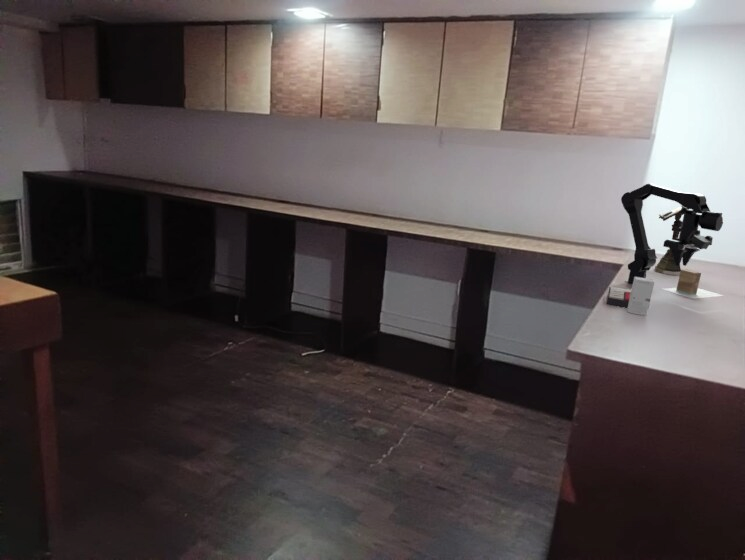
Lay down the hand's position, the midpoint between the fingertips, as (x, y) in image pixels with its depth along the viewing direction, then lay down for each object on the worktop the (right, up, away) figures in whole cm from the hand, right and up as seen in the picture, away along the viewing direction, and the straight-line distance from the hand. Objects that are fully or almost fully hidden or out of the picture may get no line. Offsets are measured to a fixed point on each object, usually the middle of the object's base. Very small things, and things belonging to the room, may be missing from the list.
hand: (680, 265), depth 223 cm
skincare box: (-30, -17, -26) cm, 43 cm away
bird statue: (+16, -2, +46) cm, 49 cm away
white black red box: (-29, -14, -15) cm, 36 cm away
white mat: (+9, -11, +8) cm, 16 cm away
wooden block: (+5, -11, +6) cm, 13 cm away
